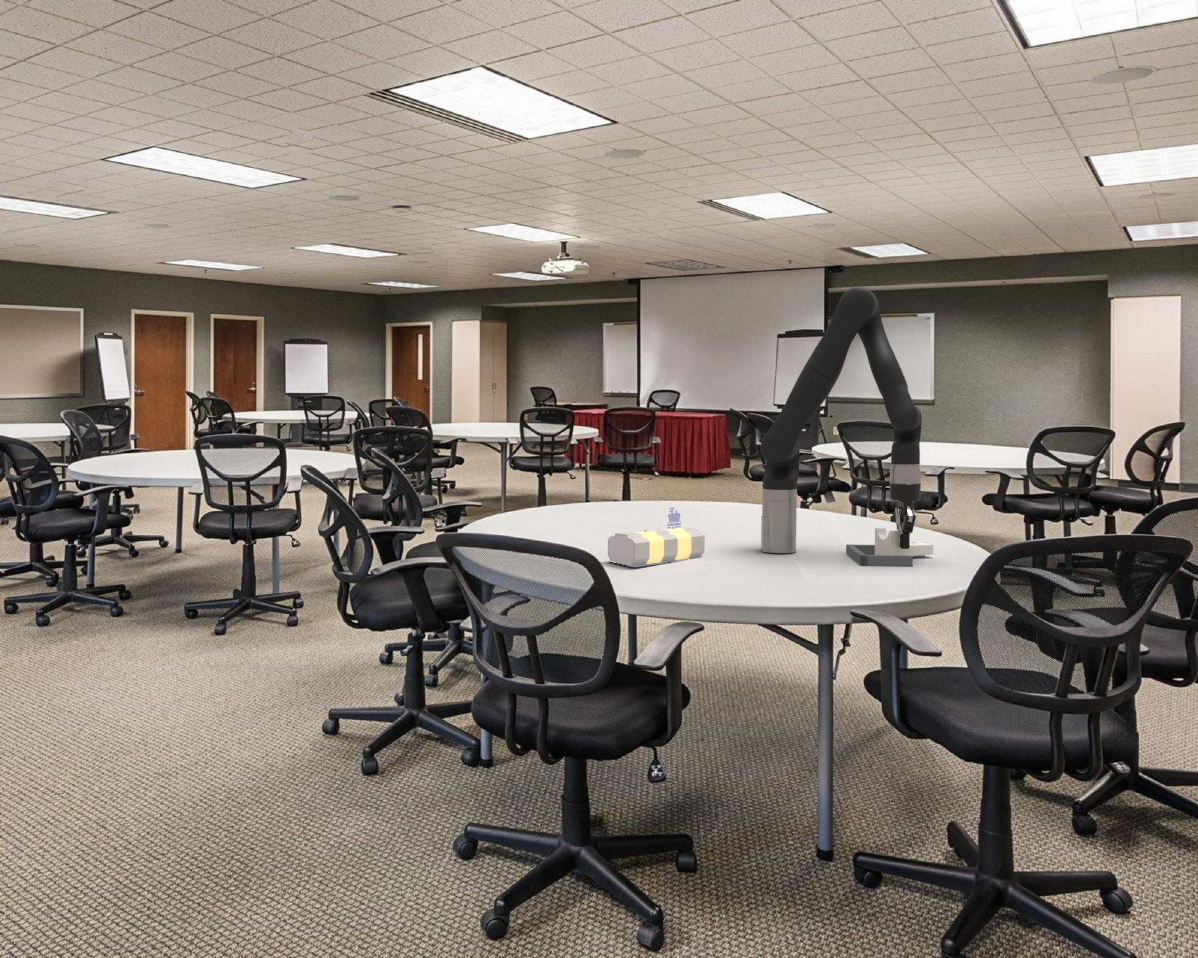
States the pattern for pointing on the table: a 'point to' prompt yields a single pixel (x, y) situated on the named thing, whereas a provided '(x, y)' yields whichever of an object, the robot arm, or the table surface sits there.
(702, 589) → the table surface
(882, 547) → the bracket
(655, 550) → the grey yellow banded block
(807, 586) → the table surface
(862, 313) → the robot arm
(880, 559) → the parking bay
